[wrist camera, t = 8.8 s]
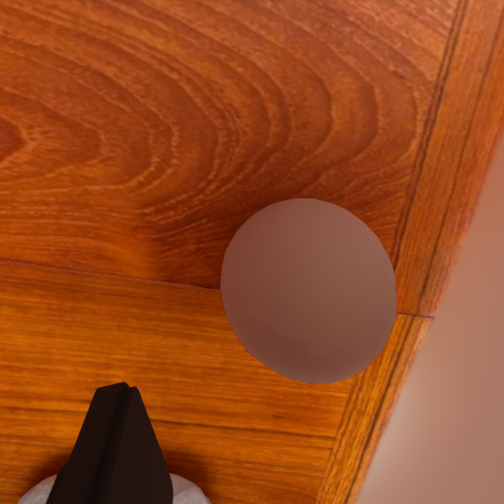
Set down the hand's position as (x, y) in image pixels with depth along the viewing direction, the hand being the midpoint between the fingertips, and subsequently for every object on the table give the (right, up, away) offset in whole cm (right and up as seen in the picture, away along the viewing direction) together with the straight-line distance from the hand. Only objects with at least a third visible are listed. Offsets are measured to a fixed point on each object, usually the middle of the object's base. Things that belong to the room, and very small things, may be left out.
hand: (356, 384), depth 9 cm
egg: (-1, +3, +7) cm, 8 cm away
